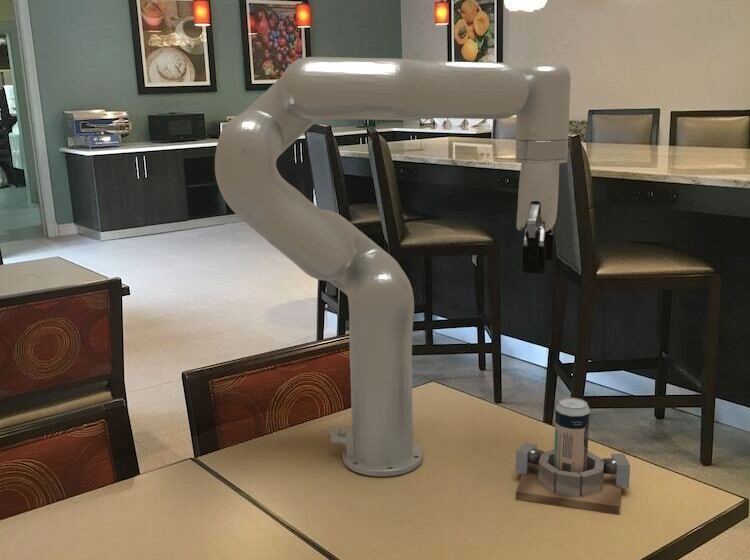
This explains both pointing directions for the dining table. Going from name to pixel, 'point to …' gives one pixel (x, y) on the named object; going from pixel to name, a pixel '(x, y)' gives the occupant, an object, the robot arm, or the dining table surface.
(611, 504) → the octagonal gimbal ring stand
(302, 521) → the dining table surface
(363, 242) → the robot arm
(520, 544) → the dining table surface
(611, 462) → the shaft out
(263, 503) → the dining table surface
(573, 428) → the beer can
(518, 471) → the shaft in
